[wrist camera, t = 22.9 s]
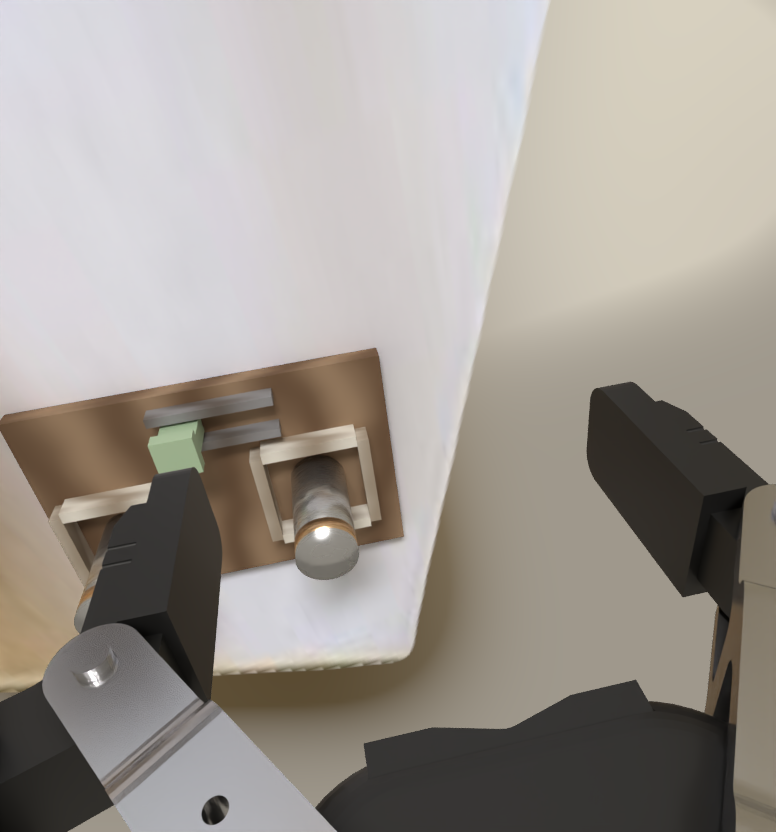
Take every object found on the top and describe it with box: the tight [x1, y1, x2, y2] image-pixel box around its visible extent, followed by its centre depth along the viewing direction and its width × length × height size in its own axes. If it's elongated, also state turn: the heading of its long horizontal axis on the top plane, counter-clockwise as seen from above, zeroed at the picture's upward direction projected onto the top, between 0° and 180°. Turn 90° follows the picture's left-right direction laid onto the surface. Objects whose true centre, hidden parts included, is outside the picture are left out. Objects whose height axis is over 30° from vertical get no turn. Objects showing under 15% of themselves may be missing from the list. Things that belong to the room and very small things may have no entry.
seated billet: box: [74, 513, 124, 633], centre depth 51 cm, size 5×5×10 cm
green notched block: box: [148, 419, 205, 474], centre depth 48 cm, size 3×3×5 cm
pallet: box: [0, 348, 404, 588], centre depth 54 cm, size 30×20×4 cm, turn 97°
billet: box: [291, 455, 359, 580], centre depth 51 cm, size 5×5×10 cm
